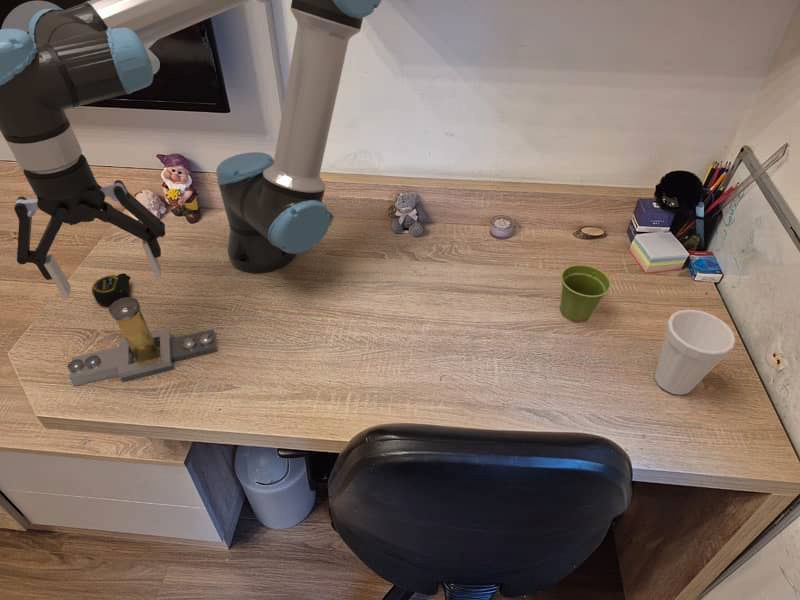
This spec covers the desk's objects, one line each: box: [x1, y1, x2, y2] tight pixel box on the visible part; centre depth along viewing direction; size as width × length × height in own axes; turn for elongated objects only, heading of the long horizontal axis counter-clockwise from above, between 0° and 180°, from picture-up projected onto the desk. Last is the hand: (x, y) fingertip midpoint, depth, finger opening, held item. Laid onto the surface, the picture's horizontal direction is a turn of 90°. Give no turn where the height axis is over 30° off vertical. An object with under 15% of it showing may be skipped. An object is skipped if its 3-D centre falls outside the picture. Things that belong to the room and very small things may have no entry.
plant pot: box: [559, 263, 612, 323], centre depth 103 cm, size 9×9×9 cm
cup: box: [654, 309, 736, 396], centre depth 88 cm, size 10×10×13 cm
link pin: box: [108, 296, 161, 363], centre depth 92 cm, size 5×5×13 cm
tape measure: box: [91, 273, 131, 306], centre depth 107 cm, size 7×7×4 cm
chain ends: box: [67, 328, 218, 387], centre depth 95 cm, size 24×9×3 cm, turn 110°
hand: (113, 282), depth 84 cm, fingers open, 13 cm apart
